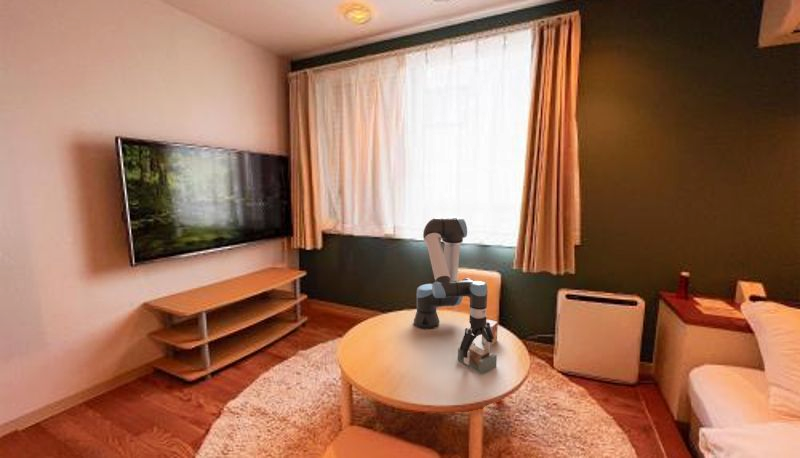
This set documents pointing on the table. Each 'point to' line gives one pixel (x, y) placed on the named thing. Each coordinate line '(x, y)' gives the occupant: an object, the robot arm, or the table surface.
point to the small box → (494, 331)
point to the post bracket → (480, 362)
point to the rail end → (477, 354)
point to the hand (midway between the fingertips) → (476, 358)
